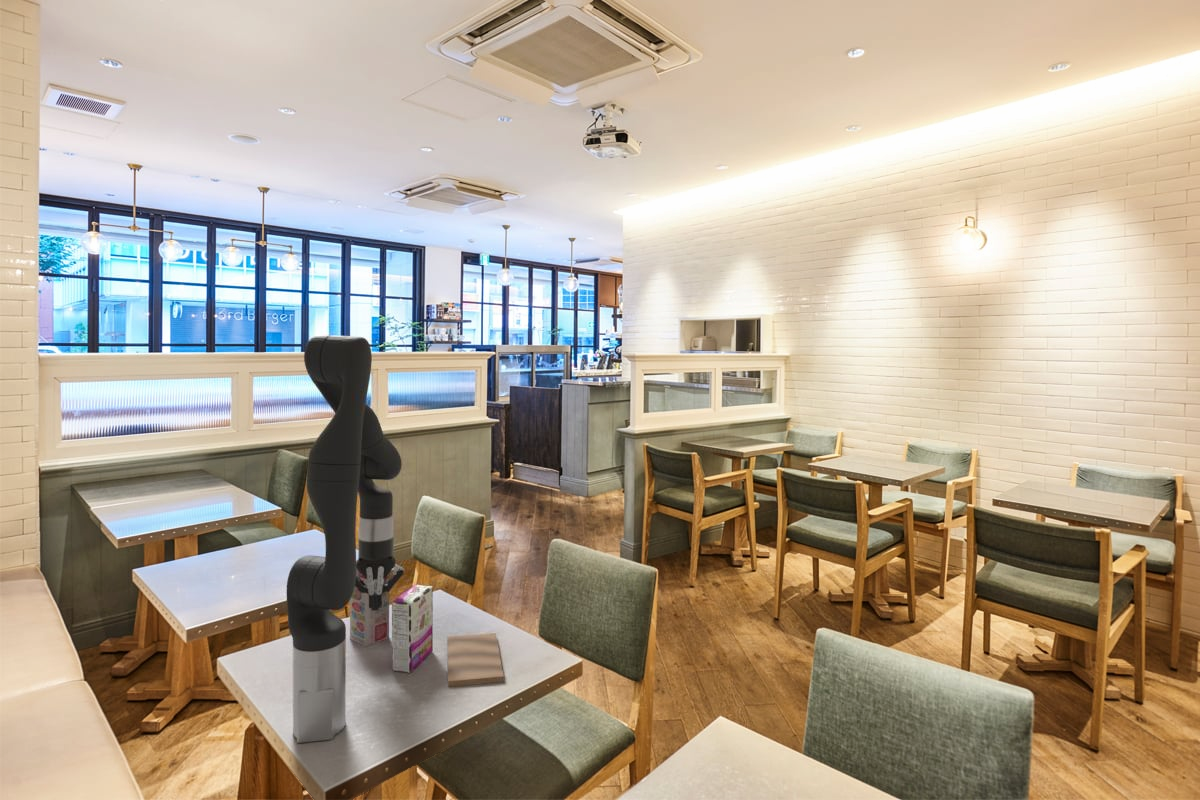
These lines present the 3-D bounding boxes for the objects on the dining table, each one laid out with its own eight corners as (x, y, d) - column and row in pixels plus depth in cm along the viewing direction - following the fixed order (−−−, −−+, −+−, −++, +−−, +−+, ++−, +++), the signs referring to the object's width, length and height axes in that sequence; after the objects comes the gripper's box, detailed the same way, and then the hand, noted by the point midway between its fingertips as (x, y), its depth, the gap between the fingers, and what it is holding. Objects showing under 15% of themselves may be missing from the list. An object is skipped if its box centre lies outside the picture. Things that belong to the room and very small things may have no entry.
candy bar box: (414, 649, 156) (414, 583, 154) (433, 651, 155) (434, 585, 153) (390, 671, 145) (390, 600, 143) (410, 674, 144) (411, 603, 142)
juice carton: (373, 630, 165) (373, 546, 164) (388, 637, 161) (389, 552, 160) (349, 638, 160) (350, 552, 158) (365, 646, 156) (366, 558, 154)
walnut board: (503, 681, 142) (503, 676, 142) (447, 686, 139) (448, 681, 139) (495, 637, 163) (495, 633, 163) (447, 641, 160) (447, 636, 160)
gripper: (342, 541, 140) (342, 618, 142) (405, 538, 143) (404, 614, 145) (347, 531, 147) (347, 604, 149) (407, 529, 151) (406, 601, 152)
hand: (375, 609), depth 147 cm, fingers closed
